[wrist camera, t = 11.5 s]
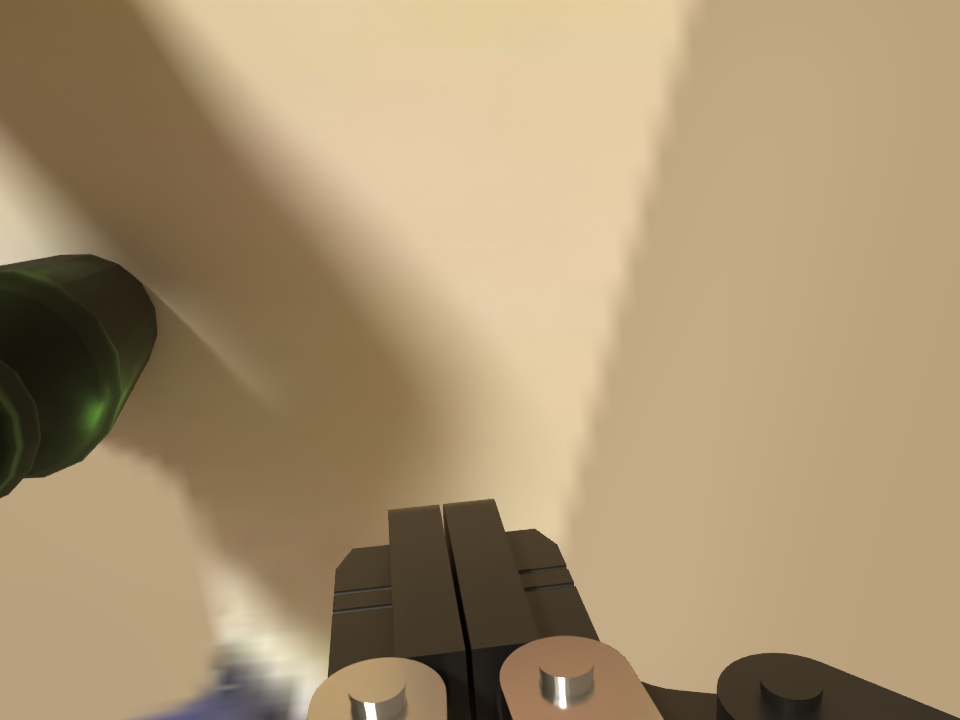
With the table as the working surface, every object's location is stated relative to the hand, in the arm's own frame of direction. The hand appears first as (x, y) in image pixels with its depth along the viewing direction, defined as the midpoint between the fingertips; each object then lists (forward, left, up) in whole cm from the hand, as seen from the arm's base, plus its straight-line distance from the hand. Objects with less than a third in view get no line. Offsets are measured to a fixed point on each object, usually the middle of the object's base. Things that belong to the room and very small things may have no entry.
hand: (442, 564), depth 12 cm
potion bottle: (-15, -2, -31) cm, 35 cm away
